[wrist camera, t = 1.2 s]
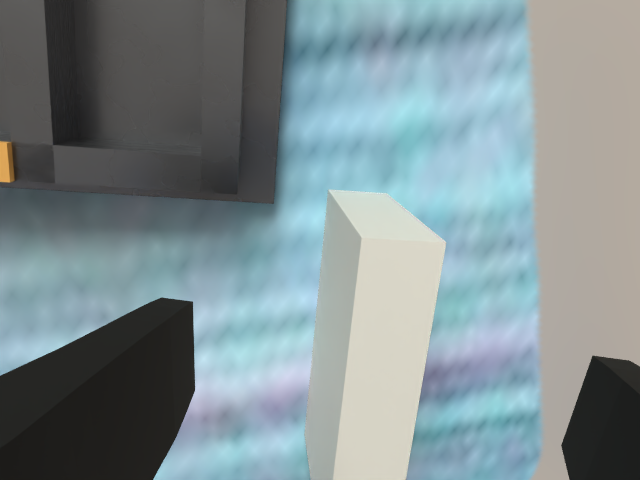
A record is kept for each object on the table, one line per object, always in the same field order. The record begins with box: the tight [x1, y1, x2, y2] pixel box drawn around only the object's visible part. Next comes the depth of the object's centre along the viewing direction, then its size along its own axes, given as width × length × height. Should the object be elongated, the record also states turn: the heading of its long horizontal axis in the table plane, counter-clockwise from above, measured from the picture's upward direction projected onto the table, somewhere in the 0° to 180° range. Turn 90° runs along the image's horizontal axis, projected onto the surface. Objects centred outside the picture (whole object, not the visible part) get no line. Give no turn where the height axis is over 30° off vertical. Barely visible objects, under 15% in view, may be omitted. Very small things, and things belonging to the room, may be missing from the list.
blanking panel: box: [305, 190, 446, 480], centre depth 19 cm, size 12×2×7 cm, turn 175°
